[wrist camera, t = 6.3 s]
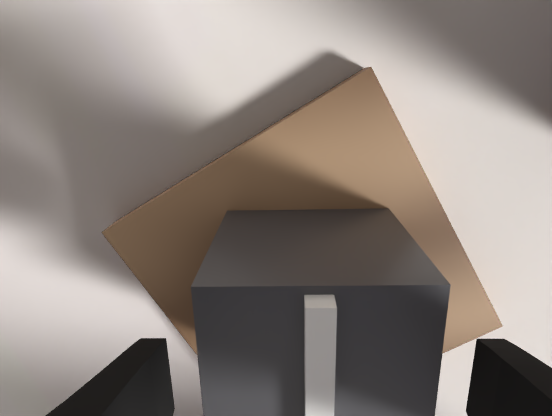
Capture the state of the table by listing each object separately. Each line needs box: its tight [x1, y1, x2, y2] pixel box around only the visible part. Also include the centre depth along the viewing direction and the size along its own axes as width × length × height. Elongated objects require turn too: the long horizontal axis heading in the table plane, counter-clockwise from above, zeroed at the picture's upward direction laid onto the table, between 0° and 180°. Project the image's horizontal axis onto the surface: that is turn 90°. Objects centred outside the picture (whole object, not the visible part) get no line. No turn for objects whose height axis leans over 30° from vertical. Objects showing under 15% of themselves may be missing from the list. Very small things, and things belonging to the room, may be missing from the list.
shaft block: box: [102, 67, 502, 354], centre depth 12 cm, size 10×10×4 cm
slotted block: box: [191, 208, 451, 416], centre depth 11 cm, size 5×5×6 cm
